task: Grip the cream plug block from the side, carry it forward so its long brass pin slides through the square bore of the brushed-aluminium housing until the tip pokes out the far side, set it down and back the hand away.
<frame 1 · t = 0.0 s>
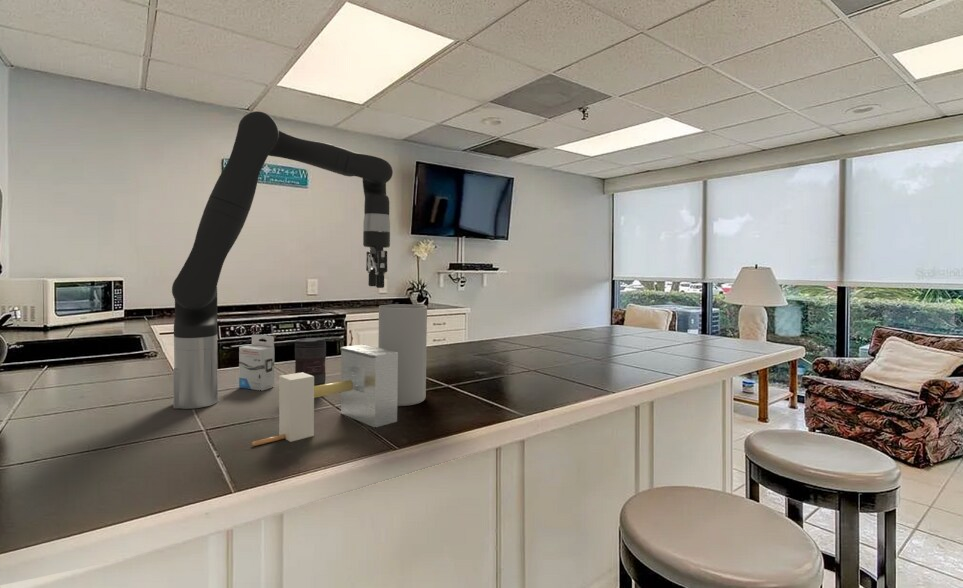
hand: (376, 287, 138), 29 cm above the counter, tool pointing down, fingers open, 8 cm apart
housing: (368, 417, 112), on the counter
plug: (296, 435, 99), on the counter
ink box: (256, 388, 137), on the counter
dark lidded canister: (310, 393, 132), on the counter
cylinder vase: (401, 400, 127), on the counter
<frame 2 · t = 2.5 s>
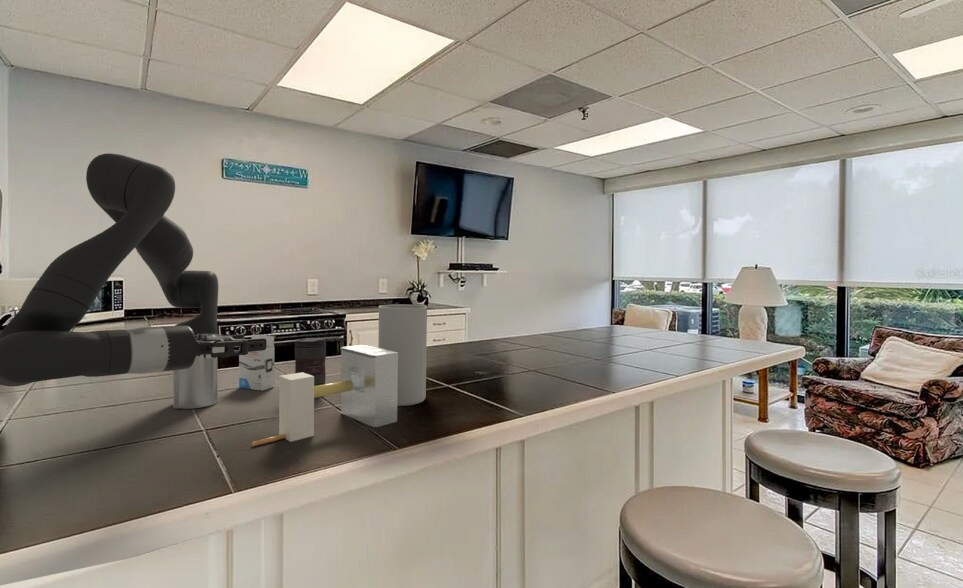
hand: (254, 342, 92), 20 cm above the counter, tool horizontal, fingers open, 8 cm apart
nothing on the counter moved.
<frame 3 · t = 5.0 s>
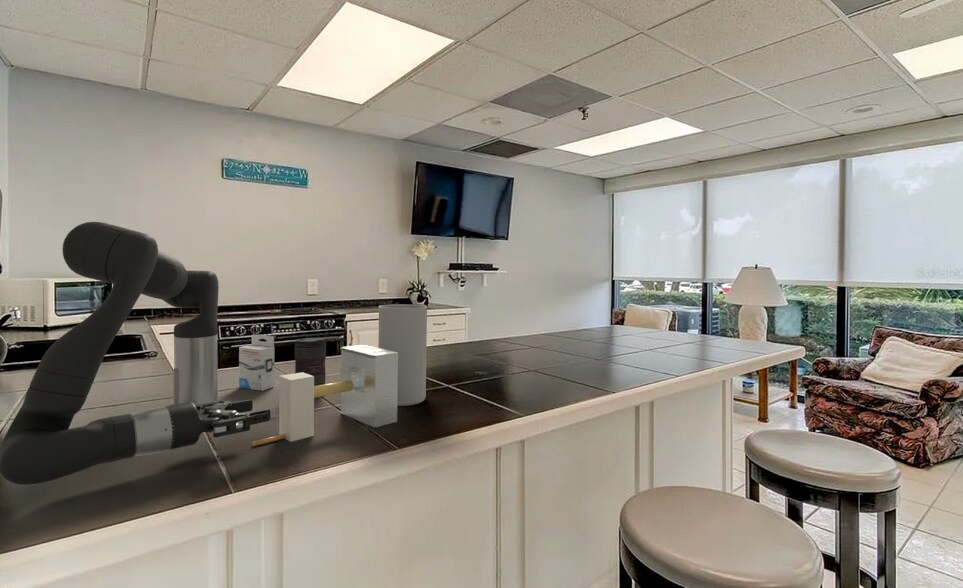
hand: (260, 409, 94), 7 cm above the counter, tool horizontal, fingers open, 8 cm apart
nothing on the counter moved.
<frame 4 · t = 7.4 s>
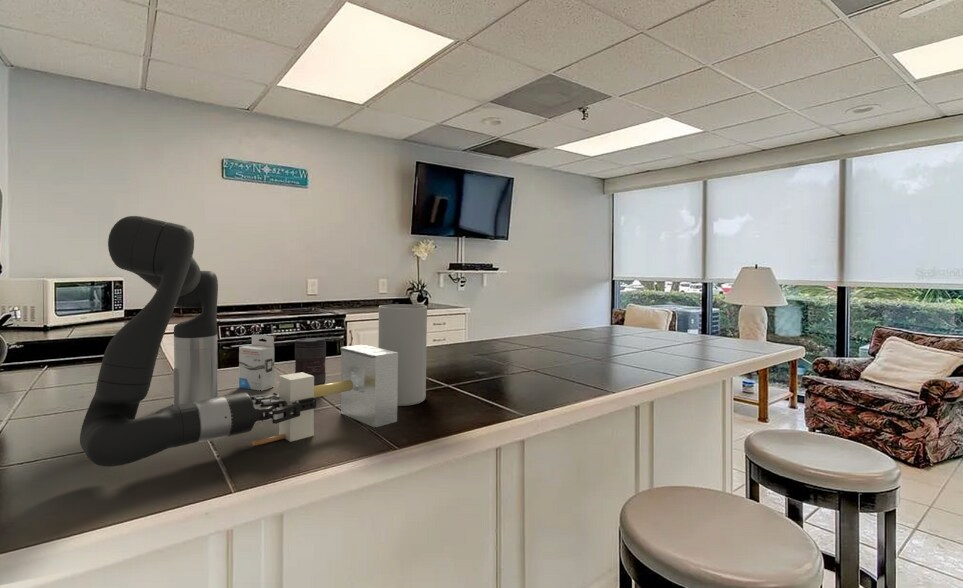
hand: (308, 399, 101), 7 cm above the counter, tool horizontal, fingers closed on plug, 5 cm apart
plug: (296, 435, 99), on the counter, touching gripper
everything else where it was.
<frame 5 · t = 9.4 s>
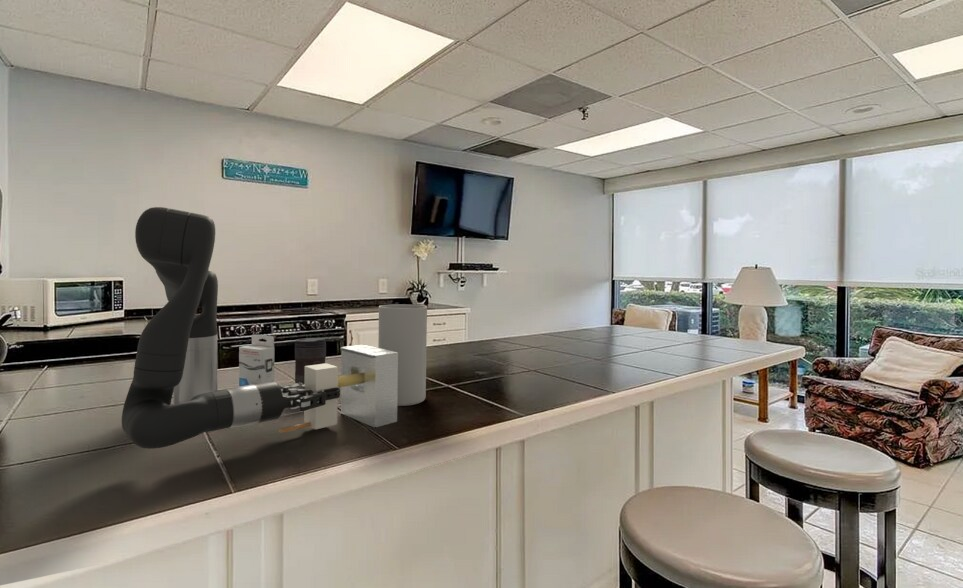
hand: (332, 389, 105), 8 cm above the counter, tool horizontal, fingers closed on plug, 5 cm apart
plug: (320, 423, 103), point 1 cm above the counter, touching gripper
everything else where it was.
when the fingers open (7 cm above the counter, at t = 11.6 s): plug stays where it is, on the counter.
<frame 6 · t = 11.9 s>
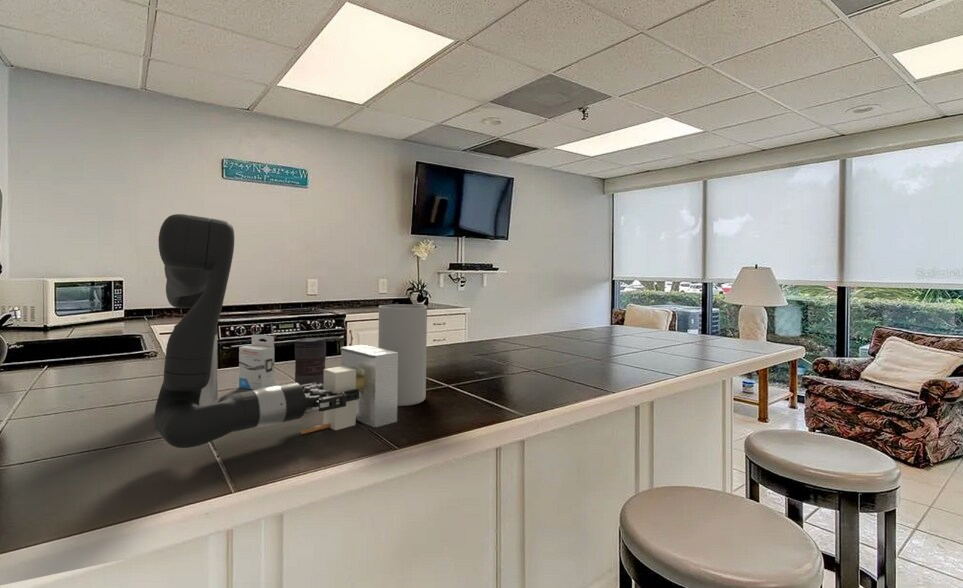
hand: (348, 390, 108), 7 cm above the counter, tool horizontal, fingers open, 7 cm apart
plug: (339, 424, 106), on the counter
everything else where it was.
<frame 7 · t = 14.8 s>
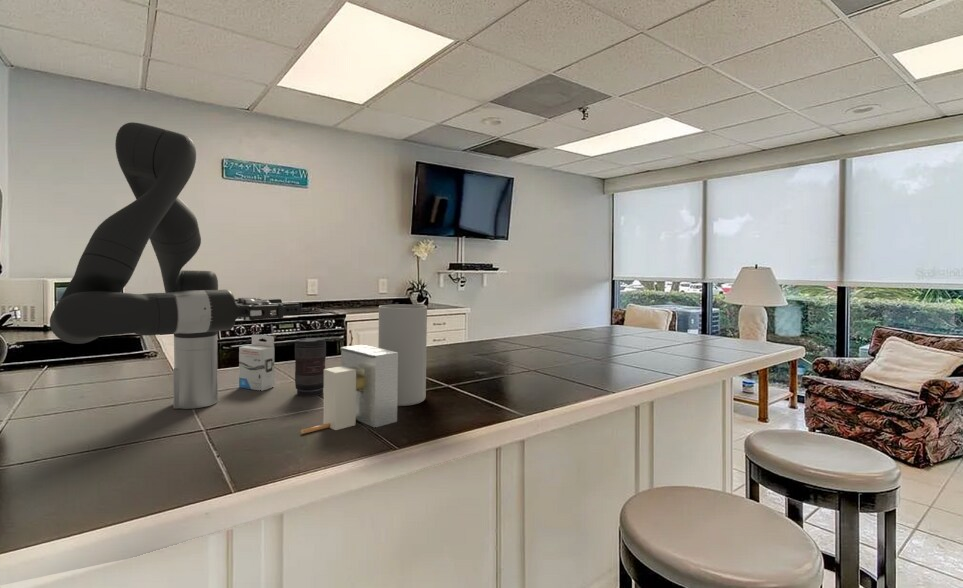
hand: (290, 306, 97), 27 cm above the counter, tool horizontal, fingers open, 8 cm apart
nothing on the counter moved.
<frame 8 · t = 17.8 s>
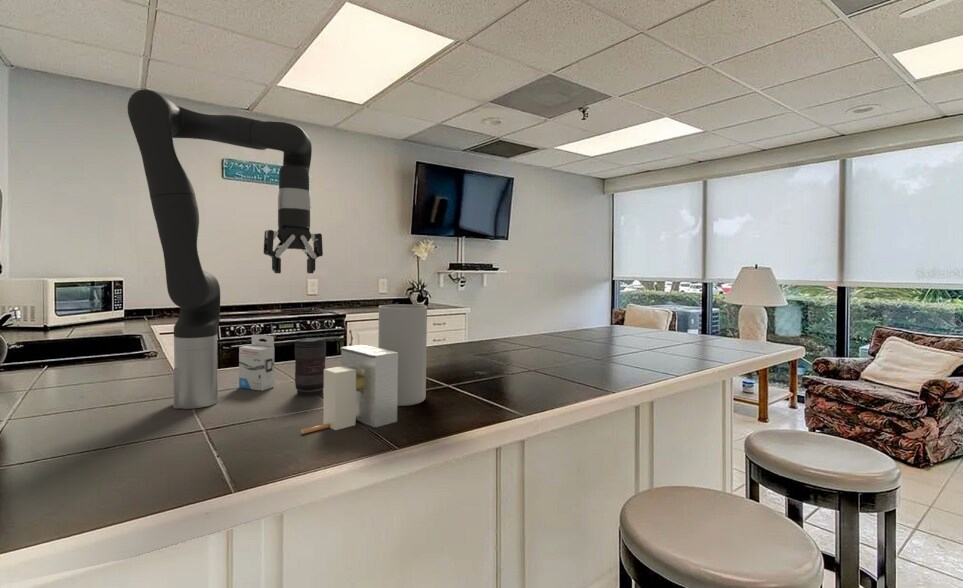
hand: (294, 273, 121), 33 cm above the counter, tool pointing down, fingers open, 8 cm apart
nothing on the counter moved.
at the end: plug 0.4 cm from the target spot on the counter beside the housing, on the counter; plug tilted 0°; the gripper is holding nothing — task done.
